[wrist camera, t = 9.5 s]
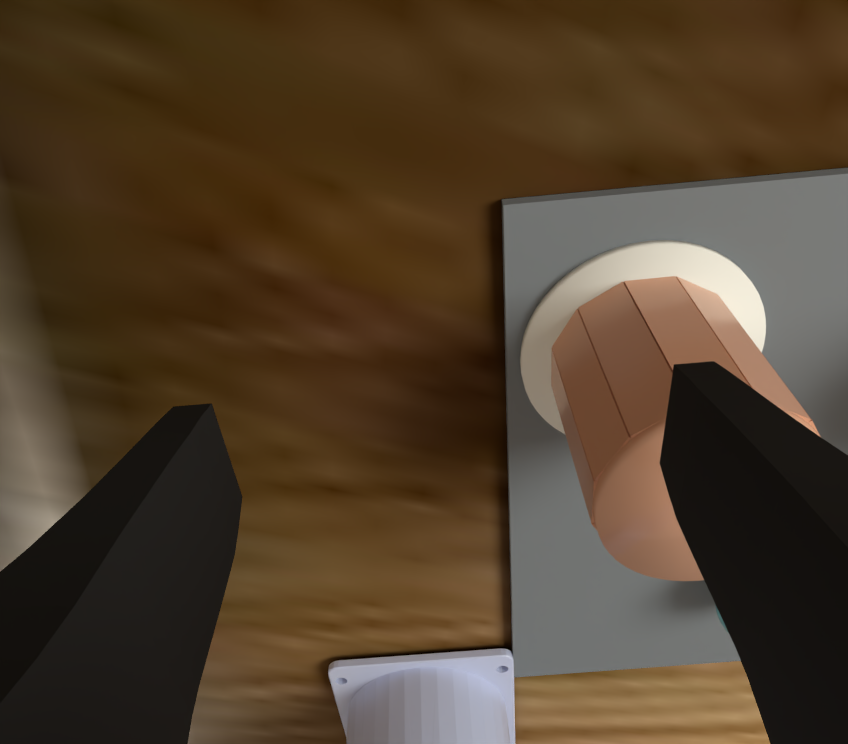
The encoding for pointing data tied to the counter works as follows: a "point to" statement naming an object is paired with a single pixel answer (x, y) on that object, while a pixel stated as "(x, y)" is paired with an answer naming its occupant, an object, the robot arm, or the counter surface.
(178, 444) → the robot arm
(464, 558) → the counter surface
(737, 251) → the slate mat
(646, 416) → the peach domed cylinder
